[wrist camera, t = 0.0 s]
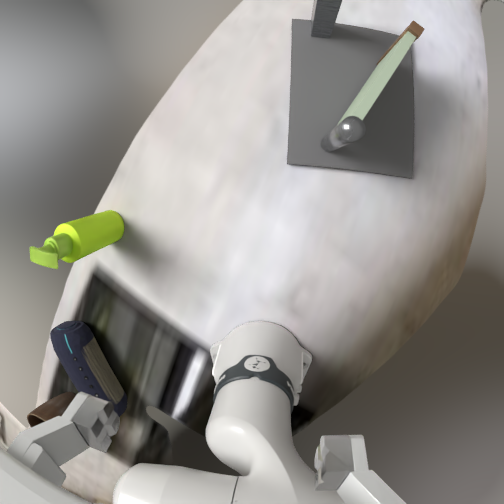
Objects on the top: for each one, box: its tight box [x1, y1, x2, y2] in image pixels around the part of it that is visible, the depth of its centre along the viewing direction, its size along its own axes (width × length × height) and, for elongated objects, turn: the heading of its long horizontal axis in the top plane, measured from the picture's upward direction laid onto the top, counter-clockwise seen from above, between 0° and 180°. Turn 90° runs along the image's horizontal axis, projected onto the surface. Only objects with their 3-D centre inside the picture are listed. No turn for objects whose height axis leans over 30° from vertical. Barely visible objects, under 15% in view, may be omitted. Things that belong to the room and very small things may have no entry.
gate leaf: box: [337, 21, 424, 125], centre depth 31 cm, size 16×2×14 cm, turn 147°
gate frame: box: [287, 0, 414, 178], centre depth 31 cm, size 25×20×18 cm
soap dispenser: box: [30, 210, 124, 269], centre depth 40 cm, size 6×7×20 cm
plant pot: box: [27, 392, 76, 428], centre depth 58 cm, size 15×15×16 cm
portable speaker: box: [50, 321, 127, 417], centre depth 54 cm, size 25×10×10 cm, turn 16°
